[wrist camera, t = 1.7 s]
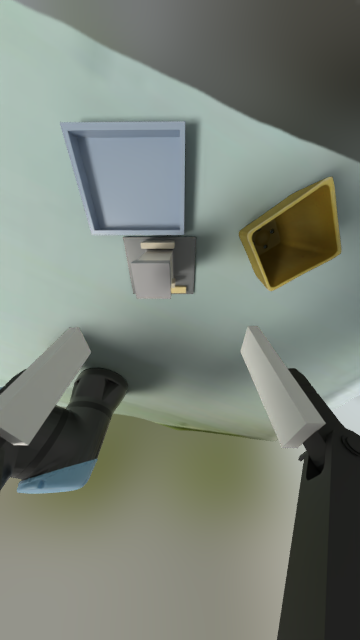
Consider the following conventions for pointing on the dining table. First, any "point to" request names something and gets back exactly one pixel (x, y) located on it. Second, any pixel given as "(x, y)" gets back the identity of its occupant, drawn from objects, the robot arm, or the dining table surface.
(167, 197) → the tray
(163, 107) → the dining table surface
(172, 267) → the block
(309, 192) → the flower pot
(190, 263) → the block
